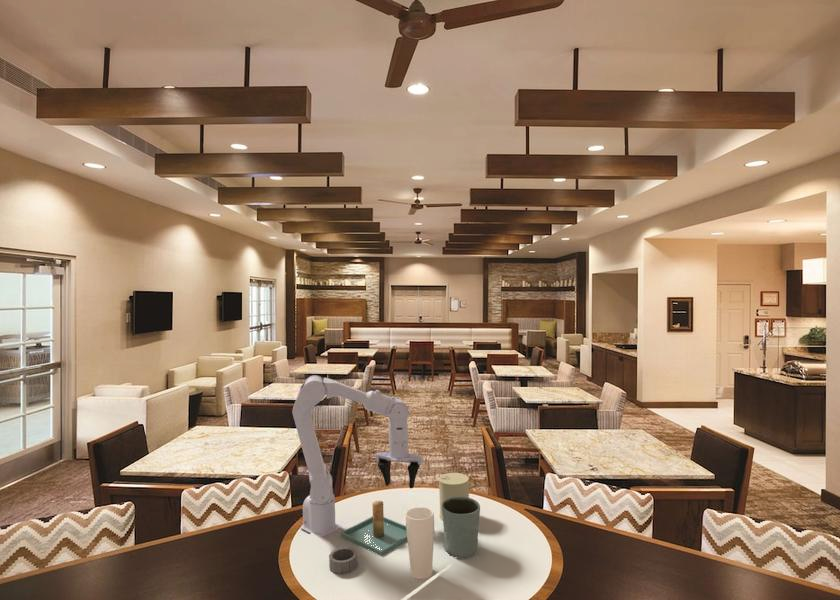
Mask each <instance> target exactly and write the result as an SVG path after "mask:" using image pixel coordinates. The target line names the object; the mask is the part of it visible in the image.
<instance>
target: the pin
mask: <svg viewBox="0 0 840 600" xmlns="http://www.w3.org/2000/svg"><path fill="white" fill-rule="evenodd" d="M372 516H373V536H374V537H375V538H381V537H383V536H384V517H385V516H384V502H383V501H382V500H374V501H373V502H372Z"/></svg>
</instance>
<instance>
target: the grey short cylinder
mask: <svg viewBox="0 0 840 600" xmlns="http://www.w3.org/2000/svg"><path fill="white" fill-rule="evenodd" d="M358 558H359V557H358V551H357V550H356V549H354V548H353V547H349V546H347V547H346V546H345V547H344V546H342V547H338V548H336V549H334V550H332V551H331V552H330V553H329V555H328V563H329V564H328V565H329V566H328V567H329V570H330V572H332V573H333V574H337V575H345V574H349V573H351V572H354V571H355V570H356V569H357V567H358V566H359V565H358V563H359V561H358Z"/></svg>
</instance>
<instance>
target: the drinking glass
mask: <svg viewBox="0 0 840 600" xmlns="http://www.w3.org/2000/svg"><path fill="white" fill-rule="evenodd" d="M434 516H435V515H434V511H433V510H432V509H430V508H428V507H421V506H420V507H418V506H417V507H413V508H411V509H409V510H407V511H406V514H405V526H406V532H407V541H406V542H407V548H408V559H409V567H410V569H409V571H410V575H411V577H413V578H414V579H418V580H425V579H428V578H430V577H431V576H432V575H433V571H434V569H433V568H434V567H433V560H434V543H435V542H434V541H435V517H434Z"/></svg>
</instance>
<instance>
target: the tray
mask: <svg viewBox="0 0 840 600" xmlns="http://www.w3.org/2000/svg"><path fill="white" fill-rule="evenodd" d="M387 524H388V525H387ZM368 530H369V531H368ZM365 533H366V534H365ZM367 534H368V536H369V535H370V538H371V539H370V538H369V537H368V539H367V540H369V539H370V542H371V543H369V541H368V542H366V543H365V541H367V540H365V539H366V538H367V537H366V538H364V537H365V536H366V535H367ZM364 535H365V536H364ZM372 536H373V515H372V516H370V517H369V518H366V519H365V520H363V521H361V522H359V523H357V524H355V525H353V526H351V527H349V528H347V529H345V530H343V531H341V532H340V537H342V538H344V539H346V540H347V541H349V542H351V543H353V544H356V545H358V546H360V547H362V548H364V549H366V548H367V549H366V550H368V549H369V550H368V551H370V550H371V551H370V552H372V551H373V552H372V553H374V552H375V553H374V554H376V553H377V554H376V555H378V554H379V555H378V556H380V555H381V556H383V555H385V554H386V553H388V552H390V551H391V550H393V549H395V548H396V547H398V546H399V545H401V544H403V543H404V542H408V541H407V532H406V524H405V525H404V524H402V523H399V522H398V521H394V520H393V519H390V518H388V517H386V516H384V536H383V537H381V538H375V537H374V536H373V537H372ZM364 540H365V541H364ZM371 540H372V541H371ZM373 542H374V543H373ZM367 543H369V544H367ZM375 544H376V545H375ZM371 545H372V546H371ZM373 545H374V546H373ZM376 546H378V547H377V548H379V547H380V550H379V549H377V548H375V547H376ZM381 549H382V550H381Z"/></svg>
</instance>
